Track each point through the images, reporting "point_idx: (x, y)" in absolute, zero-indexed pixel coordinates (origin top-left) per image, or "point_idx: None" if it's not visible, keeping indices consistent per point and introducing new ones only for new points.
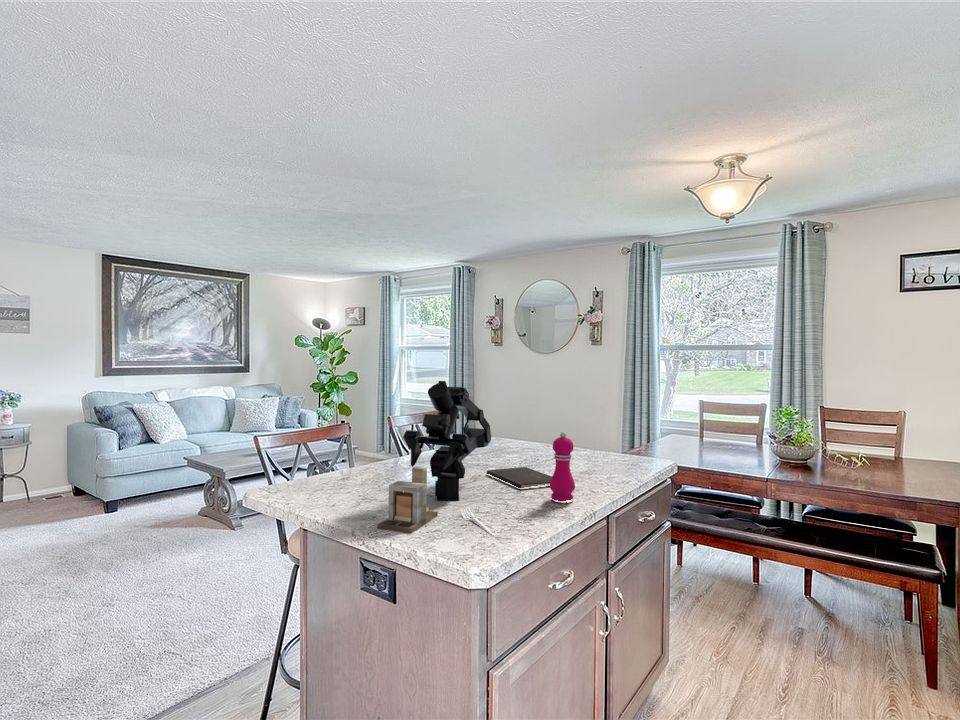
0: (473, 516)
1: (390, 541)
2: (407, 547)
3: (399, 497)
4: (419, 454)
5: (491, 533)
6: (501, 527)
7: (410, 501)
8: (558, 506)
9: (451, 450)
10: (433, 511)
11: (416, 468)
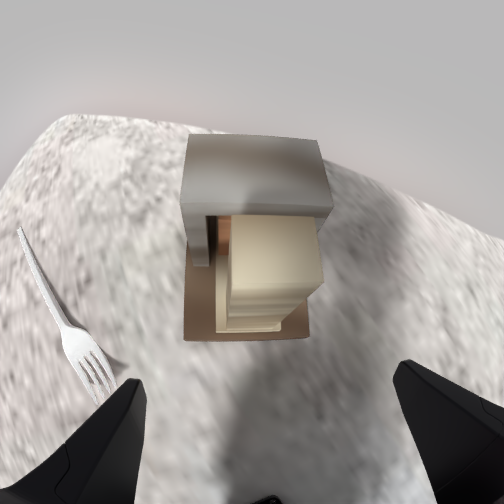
0: (77, 367)
1: None
2: (170, 125)
3: None
4: (439, 491)
5: (24, 242)
6: (10, 297)
7: None
8: None
9: (36, 491)
10: (199, 338)
11: (285, 222)
